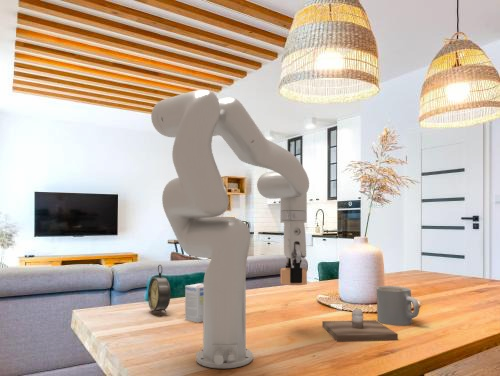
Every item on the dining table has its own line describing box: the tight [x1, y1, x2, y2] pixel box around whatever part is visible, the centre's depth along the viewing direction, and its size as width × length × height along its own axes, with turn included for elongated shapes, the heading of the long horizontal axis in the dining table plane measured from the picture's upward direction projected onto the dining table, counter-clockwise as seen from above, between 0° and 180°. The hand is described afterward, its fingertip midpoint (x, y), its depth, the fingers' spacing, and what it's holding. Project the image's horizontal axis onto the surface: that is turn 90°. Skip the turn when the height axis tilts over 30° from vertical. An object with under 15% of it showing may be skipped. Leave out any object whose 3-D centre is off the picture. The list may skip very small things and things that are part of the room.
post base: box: [321, 308, 399, 342], centre depth 114 cm, size 15×16×6 cm
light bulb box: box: [184, 282, 204, 324], centre depth 131 cm, size 11×7×11 cm, turn 141°
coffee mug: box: [376, 285, 420, 327], centre depth 125 cm, size 13×10×10 cm
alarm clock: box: [147, 264, 172, 317], centre depth 138 cm, size 11×5×16 cm, turn 31°
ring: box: [280, 267, 308, 286], centre depth 116 cm, size 7×7×4 cm
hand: (293, 280), depth 116 cm, fingers closed on ring, 7 cm apart
